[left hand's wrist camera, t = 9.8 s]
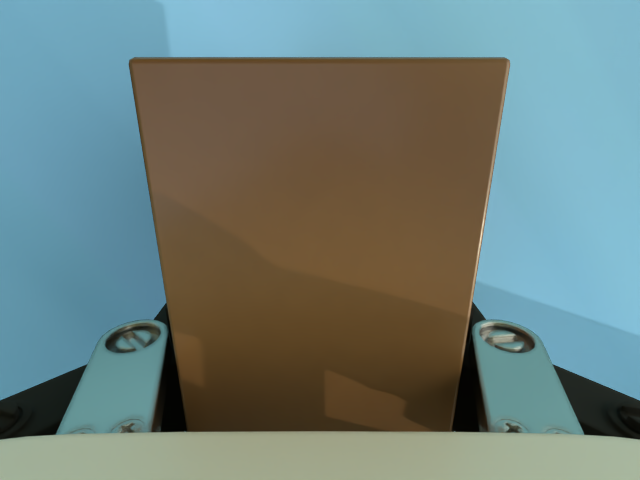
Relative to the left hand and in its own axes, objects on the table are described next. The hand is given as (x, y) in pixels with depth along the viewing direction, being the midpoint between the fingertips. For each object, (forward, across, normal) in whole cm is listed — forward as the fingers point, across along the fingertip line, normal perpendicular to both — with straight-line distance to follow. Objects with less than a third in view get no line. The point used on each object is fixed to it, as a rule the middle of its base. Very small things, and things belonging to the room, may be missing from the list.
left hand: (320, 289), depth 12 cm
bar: (+3, 0, -32) cm, 33 cm away
